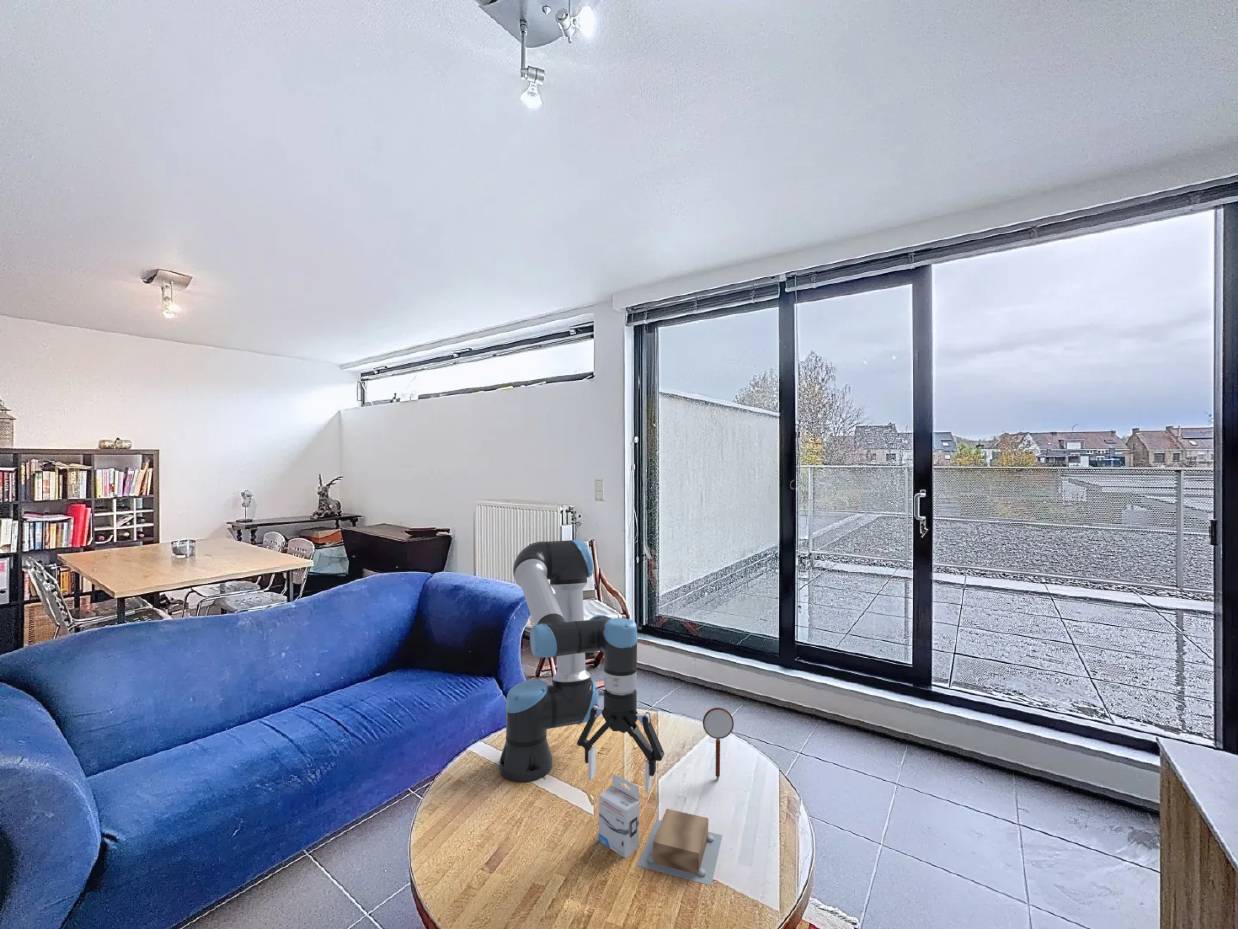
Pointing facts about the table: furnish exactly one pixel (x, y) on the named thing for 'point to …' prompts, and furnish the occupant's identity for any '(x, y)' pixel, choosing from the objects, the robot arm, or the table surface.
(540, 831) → the table surface
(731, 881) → the table surface
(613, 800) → the ink box
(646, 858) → the plate
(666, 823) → the base brick
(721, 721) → the magnifying glass
